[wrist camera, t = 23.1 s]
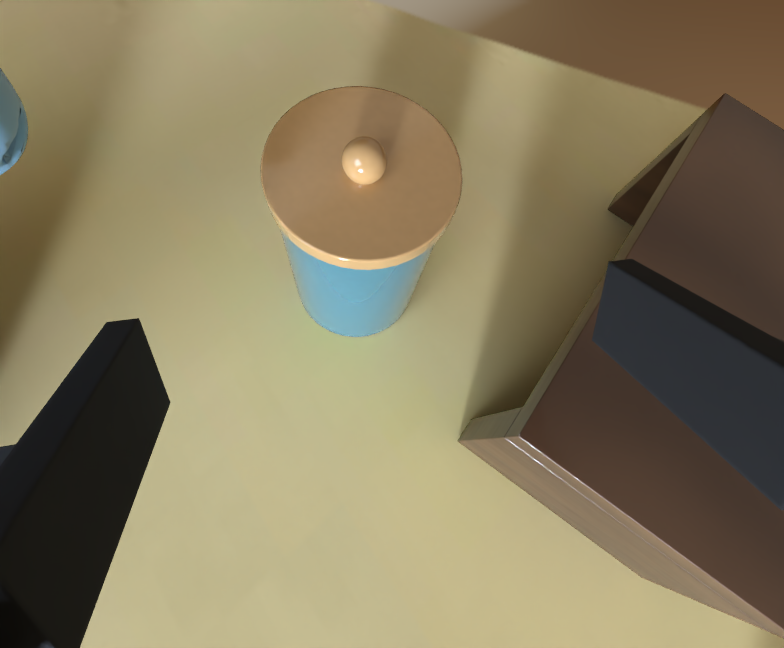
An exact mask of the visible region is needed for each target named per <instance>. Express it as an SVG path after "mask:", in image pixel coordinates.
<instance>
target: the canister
mask: <svg viewBox="0 0 784 648" xmlns="http://www.w3.org/2000/svg"><path fill="white" fill-rule="evenodd" d="M261 182H262V187H263V191H264V195H265V198H266V201H267V204H268V207H269V209H270V212H271V214H272V216H273V218H274V220H275V221H276V223H277V225H278V226H279V227H280V230H281V233H282V237H283V240H284V244H285V247H286V251H287V254H288V258H289V261H290V265H291V268H292V272H293V275H294V279H295V282H296V286H297V289H298V293H299V296H300V299H301V302H302V304H303V306H304V308H305V309H306V311H307V312H308V314H309V315H310V316H311V317H312V318H313V319H314V320H315V321H316V322H317V323H318V324H319V325H321V326H322V327H324V328H325V329H327V330H329V331H331V332H334V333H336V334H340V335H344V336H351V337H360V336H368V335H372V334H375V333H378V332H381V331H383V330H384V329H386V328H388V327H389V326H391V325H392V324H393V323H395V322H396V321H397V320H398V319H399V318H400V316H401V315H402V314H403V312H404V311H405V309H406V307H407V305H408V303H409V301H410V299H411V296H412V294H413V292H414V290H415V287H416V285H417V283H418V281H419V278H420V276H421V274H422V272H423V269H424V267H425V265H426V263H427V260H428V258H429V256H430V254H431V251H432V249H433V247H434V245H435V242H436V241H437V240H438V239H439V238H440V237H441V236H442V234H443V233H444V232H445V230H446V229H447V227H448V225H449V224H450V222H451V220H452V218H453V215H454V213H455V211H456V208H457V206H458V204H459V200H460V196H461V191H462V168H461V164H460V159H459V156H458V153H457V150H456V147H455V145H454V143H453V141H452V139H451V137H450V136H449V134H448V133H447V131H446V130H445V128H444V127H443V126H442V125H441V124H440V122H439V121H438V120H437V119H436V118H435V117H434V116H433V115H432V114H430V113H429V112H428V111H427V110H426V109H424V108H423V107H421V106H420V105H419V104H417V103H415V102H413V101H412V100H410V99H408V98H406V97H404V96H401V95H399V94H396V93H394V92H390V91H387V90H384V89H378V88H373V87H362V86H350V87H340V88H333V89H330V90H326V91H322V92H319V93H317V94H314V95H312V96H310V97H308V98H306V99H304V100H302V101H300V102H299V103H298V104H296V105H295V106H293V107H292V108H291V109H289V110H288V111H287V112H286V113H285V114H284V115H283V116H282V117H281V118H280V120H279V121H278V122H277V123H276V125H275V126H274V128H273V129H272V131H271V133H270V134H269V136H268V139H267V141H266V144H265V146H264V150H263V154H262V158H261Z"/></svg>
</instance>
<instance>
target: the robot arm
mask: <svg viewBox="0 0 784 648" xmlns="http://www.w3.org/2000/svg"><path fill="white" fill-rule="evenodd" d="M27 139H28V123H27V116H26V112H25V109H24V107H23V104H22V102H21V100H20V98H19V96H18V94H17V93H16V91H15V89H14V88H13V86H12V85H11V83H10V82H9V80H8V79H7V77H6V76H5V74H4V73H3V71H2V70H1V68H0V175H1V174H3V173H4V172H6V171H7V170H9V169H10V168H11V167H12V166H13V165H14V164H15V163H16V162H17V161H18V160H19V158H20V157H21V155H22V154H23V152H24V149H25V146H26V143H27ZM592 341H593V342H594V343H596V344H597V345H598V346H599V347H600V348H601V349H602V350H603V351H604V352H606V353H607V354H608V355H609V356H610V357H611V358H612V359H613V360H614V361H616V362H617V363H618V364H619V365H620V366H621V367H622V368H623V369H624V370H626V371H627V372H628V373H629V374H630V375H631V376H632V377H633V378H634V379H636V380H637V381H638V382H639V383H640V384H641V385H642V386H643V387H644V388H646V389H647V390H648V391H649V392H650V393H651V394H652V395H653V396H654V397H656V398H657V399H658V400H659V401H660V402H661V403H662V404H663V405H664V406H666V407H667V408H668V409H669V410H670V411H671V412H672V413H673V414H674V415H676V416H677V417H678V418H679V419H680V420H681V421H682V422H683V423H684V424H686V425H687V426H688V427H689V428H690V429H691V430H692V431H693V432H694V433H696V434H697V435H698V436H699V437H700V438H701V439H702V440H703V441H704V442H706V443H707V444H708V445H709V446H710V447H711V448H712V449H713V450H714V451H716V452H717V453H718V454H719V455H720V456H721V457H722V458H723V459H724V460H726V461H727V462H728V463H729V464H730V465H731V466H732V467H733V468H734V469H736V470H737V471H738V472H739V473H740V474H741V475H742V476H743V477H745V478H746V479H747V480H748V481H749V482H750V483H751V484H752V485H753V486H755V487H756V488H757V489H758V490H759V491H760V492H761V493H762V494H763V495H765V496H766V497H767V498H768V499H769V500H770V501H771V502H772V503H773V504H775V505H776V506H777V507H778V508H779V509H780V510H784V341H783V340H781V339H778V338H776V337H773V336H771V335H769V334H767V333H766V332H764V331H762V330H760V329H758V328H757V327H755V326H753V325H751V324H749V323H748V322H746V321H744V320H742V319H740V318H739V317H737V316H735V315H733V314H731V313H729V312H728V311H726V310H724V309H722V308H720V307H719V306H717V305H715V304H713V303H711V302H710V301H708V300H706V299H704V298H702V297H701V296H699V295H697V294H695V293H693V292H691V291H690V290H688V289H686V288H684V287H682V286H681V285H679V284H677V283H675V282H673V281H672V280H670V279H668V278H666V277H664V276H663V275H661V274H659V273H657V272H655V271H653V270H652V269H650V268H648V267H646V266H644V265H643V264H641V263H639V262H637V261H635V260H634V259H625V260H617V261H609V263H608V267H607V272H606V276H605V281H604V286H603V290H602V295H601V300H600V304H599V309H598V314H597V318H596V323H595V328H594V332H593V337H592ZM169 405H170V400H169V398H168V395H167V392H166V390H165V387H164V384H163V381H162V379H161V376H160V373H159V371H158V368H157V365H156V363H155V360H154V357H153V355H152V352H151V349H150V347H149V344H148V341H147V339H146V336H145V333H144V331H143V328H142V325H141V322H140V320H139V318H137V319H129V320H121V321H113V322H106V324H105V325H104V326H103V328H102V329H101V331H100V332H99V333H98V335H97V336H96V337H95V339H94V340H93V341H92V343H91V344H90V345H89V347H88V348H87V349H86V351H85V352H84V353H83V355H82V356H81V358H80V359H79V360H78V362H77V363H76V364H75V366H74V367H73V368H72V370H71V371H70V372H69V374H68V375H67V376H66V378H65V379H64V380H63V382H62V383H61V384H60V386H59V387H58V389H57V390H56V391H55V393H54V394H53V395H52V397H51V398H50V399H49V401H48V402H47V403H46V405H45V406H44V407H43V409H42V410H41V411H40V413H39V414H38V415H37V417H36V418H35V420H34V421H33V422H32V424H31V425H30V426H29V428H28V429H27V430H26V432H25V433H24V434H23V436H22V437H21V438H20V440H19V441H18V442H17V444H16V445H9V446H3V447H0V648H80V646H81V643H82V640H83V637H84V635H85V632H86V629H87V627H88V624H89V621H90V618H91V616H92V613H93V610H94V608H95V605H96V602H97V600H98V597H99V594H100V591H101V589H102V586H103V583H104V581H105V578H106V575H107V572H108V570H109V567H110V564H111V562H112V559H113V556H114V554H115V551H116V548H117V545H118V543H119V540H120V537H121V535H122V532H123V529H124V527H125V524H126V521H127V518H128V516H129V513H130V510H131V508H132V505H133V502H134V499H135V497H136V494H137V491H138V489H139V486H140V483H141V481H142V478H143V475H144V472H145V470H146V467H147V464H148V462H149V459H150V456H151V454H152V451H153V448H154V445H155V443H156V440H157V437H158V435H159V432H160V429H161V426H162V424H163V421H164V418H165V416H166V413H167V410H168V408H169Z"/></svg>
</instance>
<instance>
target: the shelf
mask: <svg viewBox="0 0 784 648" xmlns="http://www.w3.org/2000/svg"><path fill="white" fill-rule="evenodd" d="M608 210H609V211H611V212H612V213H614V214H615V215H617V216H618V217H620V218H621V219H623V220H624V221H626V222H627V223H629V224H630V225H632V226H633V228H632V230H631V231H630V233H629V235H628V236H627V238H626V239H625V241H624V243H623V244H622V246H621V248H620V249H619V251H618V253H617V254H616V256H615V257H614V259H613V261H617V260H625V259H634V260H635V261H637V262H639V263H641V264H643V265H644V266H646V267H648V268H650V269H652V270H653V271H655V272H657V273H659V274H661V275H663V276H664V277H666V278H668V279H670V280H672V281H673V282H675V283H677V284H679V285H681V286H682V287H684V288H686V289H688V290H690V291H691V292H693V293H695V294H697V295H699V296H701V297H702V298H704V299H706V300H708V301H710V302H711V303H713V304H715V305H717V306H719V307H720V308H722V309H724V310H726V311H728V312H729V313H731V314H733V315H735V316H737V317H739V318H740V319H742V320H744V321H746V322H748V323H749V324H751V325H753V326H755V327H757V328H758V329H760V330H762V331H764V332H766V333H767V334H769V335H771V336H773V337H776V338H778V339H781V340H783V341H784V130H783V129H781V128H780V127H778V126H777V125H775V124H774V123H772V122H770V121H769V120H767V119H766V118H764V117H763V116H761V115H759V114H758V113H756V112H755V111H753V110H751V109H750V108H748V107H747V106H745V105H743V104H742V103H740V102H739V101H737V100H736V99H734V98H732V97H731V96H729V95H728V94H726V93H725V94H724V95H722V96H721V97H720V98H719V99H718V100H717V101H716V102H715V103H714V104H713V105H712V106H711V107H710V108H708V109H707V110H706V111H705V112H704V113H703V114H702V115H701V116H700V117H699V118H698V119H697V120H696V121H695V122H694V123H693V124H692V125H690V126H689V127H688V128H687V129H686V130H685V131H684V132H683V133H682V134H681V135H680V136H679V137H678V138H677V139H675V140H674V141H673V142H672V143H671V144H670V145H669V146H668V147H667V148H666V149H665V150H664V151H663V152H662V153H660V154H659V155H658V156H657V157H656V158H655V159H654V160H653V161H652V162H651V163H650V164H649V165H648V166H647V167H646V168H644V169H643V170H642V171H641V172H640V173H639V174H638V175H637V176H636V177H635V178H634V179H633V180H632V181H631V182H629V183H628V184H627V185H626V186H625V187H624V188H623V189H622V190H621V191H620V192H619V193H618V194H617V195H616V196H615V198H614V199H613V201H612V203H611V204H610V206H609V207H608ZM606 272H607V271H606ZM606 272H605V274H604V275H603V277H602V279H601V280H600V282H599V284H598V285H597V287H596V288H595V290H594V292H593V293H592V295H591V297H590V298H589V300H588V302H587V303H586V305H585V306H584V308H583V310H582V311H581V313H580V315H579V316H578V318H577V319H576V321H575V323H574V324H573V326H572V328H571V329H570V331H569V333H568V334H567V336H566V337H565V339H564V341H563V342H562V344H561V346H560V347H559V349H558V350H557V352H556V354H555V355H554V357H553V359H552V360H551V362H550V364H549V365H548V367H547V368H546V370H545V372H544V373H543V375H542V377H541V378H540V380H539V382H538V383H537V385H536V386H535V388H534V390H533V391H532V393H531V395H530V396H529V398H528V399H527V401H526V403H525V404H524V406H523V407H520V408H516V409H512V410H508V411H503V412H499V413H495V414H491V415H487V416H483V417H479V418H474V419H471V421H470V422H469V424H468V425H467V427H466V428H465V430H464V432H463V433H462V435H461V436H460V438H459V439H458V442H459V443H461V444H462V445H463V446H465V447H466V448H468V449H469V450H470V451H472V452H473V453H474V454H476V455H477V456H478V457H480V458H481V459H482V460H484V461H485V462H486V463H488V464H489V465H490V466H492V467H493V468H495V469H496V470H497V471H499V472H500V473H501V474H503V475H504V476H505V477H507V478H508V479H509V480H511V481H512V482H513V483H515V484H516V485H517V486H519V487H520V488H522V489H523V490H524V491H526V492H527V493H528V494H530V495H531V496H532V497H534V498H535V499H536V500H538V501H539V502H540V503H542V504H543V505H544V506H546V507H547V508H548V509H550V510H551V511H553V512H554V513H555V514H557V515H558V516H559V517H561V518H562V519H563V520H565V521H566V522H567V523H569V524H570V525H571V526H573V527H574V528H575V529H577V530H578V531H580V532H581V533H582V534H584V535H585V536H586V537H588V538H589V539H590V540H592V541H593V542H594V543H596V544H597V545H598V546H600V547H601V548H602V549H604V550H605V551H607V552H608V553H609V554H611V555H612V556H613V557H615V558H616V559H617V560H619V561H620V562H621V563H623V564H624V565H625V566H627V567H628V568H629V569H631V570H632V571H634V572H635V573H636V574H638V575H639V576H640V577H642V578H644V579H646V580H649V581H651V582H654V583H656V584H658V585H661V586H663V587H665V588H668V589H670V590H672V591H675V592H677V593H679V594H682V595H684V596H686V597H689V598H691V599H693V600H696V601H698V602H700V603H703V604H705V605H707V606H710V607H712V608H714V609H717V610H719V611H721V612H724V613H726V614H728V615H731V616H733V617H735V618H738V619H740V620H742V621H745V622H747V623H749V624H752V625H754V626H756V627H759V628H761V629H764V630H766V631H768V632H771V633H773V634H775V635H777V636H780V637H782V638H784V510H780V509H779V508H778V507H777V506H776V505H775V504H773V503H772V502H771V501H770V500H769V499H768V498H767V497H766V496H765V495H763V494H762V493H761V492H760V491H759V490H758V489H757V488H756V487H755V486H753V485H752V484H751V483H750V482H749V481H748V480H747V479H746V478H745V477H743V476H742V475H741V474H740V473H739V472H738V471H737V470H736V469H734V468H733V467H732V466H731V465H730V464H729V463H728V462H727V461H726V460H724V459H723V458H722V457H721V456H720V455H719V454H718V453H717V452H716V451H714V450H713V449H712V448H711V447H710V446H709V445H708V444H707V443H706V442H704V441H703V440H702V439H701V438H700V437H699V436H698V435H697V434H696V433H694V432H693V431H692V430H691V429H690V428H689V427H688V426H687V425H686V424H684V423H683V422H682V421H681V420H680V419H679V418H678V417H677V416H676V415H674V414H673V413H672V412H671V411H670V410H669V409H668V408H667V407H666V406H664V405H663V404H662V403H661V402H660V401H659V400H658V399H657V398H656V397H654V396H653V395H652V394H651V393H650V392H649V391H648V390H647V389H646V388H644V387H643V386H642V385H641V384H640V383H639V382H638V381H637V380H636V379H634V378H633V377H632V376H631V375H630V374H629V373H628V372H627V371H626V370H624V369H623V368H622V367H621V366H620V365H619V364H618V363H617V362H616V361H614V360H613V359H612V358H611V357H610V356H609V355H608V354H607V353H606V352H604V351H603V350H602V349H601V348H600V347H599V346H598V345H597V344H596V343H594V342H593V341H592V337H593V332H594V328H595V323H596V318H597V314H598V309H599V304H600V300H601V295H602V290H603V286H604V281H605V276H606Z"/></svg>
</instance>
